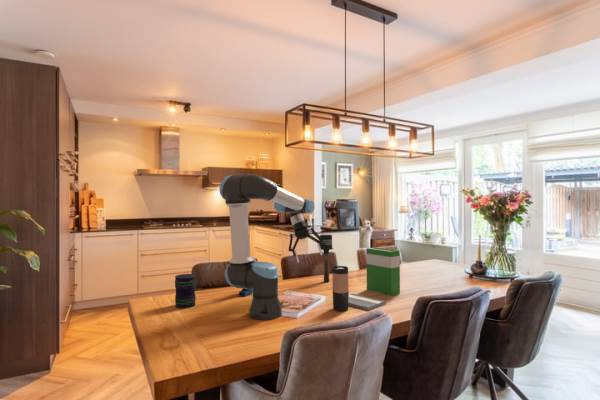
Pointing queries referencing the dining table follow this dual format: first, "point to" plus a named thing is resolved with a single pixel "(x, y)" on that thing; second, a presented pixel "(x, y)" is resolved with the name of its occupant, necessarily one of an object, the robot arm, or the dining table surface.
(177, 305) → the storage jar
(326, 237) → the potato masher grenade
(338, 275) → the travel mug
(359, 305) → the grey book
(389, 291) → the hardback book
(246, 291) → the handheld scanner
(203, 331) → the dining table surface
